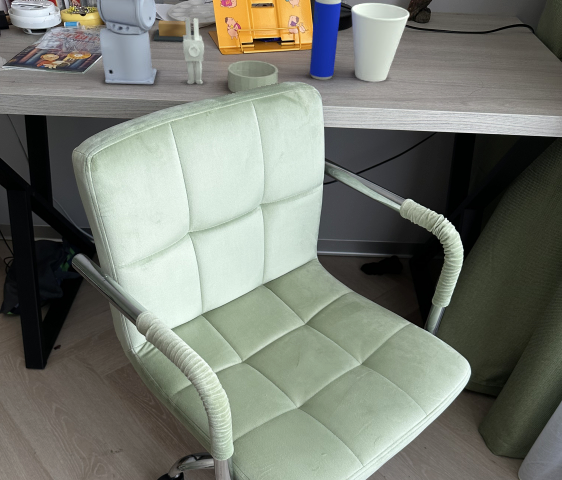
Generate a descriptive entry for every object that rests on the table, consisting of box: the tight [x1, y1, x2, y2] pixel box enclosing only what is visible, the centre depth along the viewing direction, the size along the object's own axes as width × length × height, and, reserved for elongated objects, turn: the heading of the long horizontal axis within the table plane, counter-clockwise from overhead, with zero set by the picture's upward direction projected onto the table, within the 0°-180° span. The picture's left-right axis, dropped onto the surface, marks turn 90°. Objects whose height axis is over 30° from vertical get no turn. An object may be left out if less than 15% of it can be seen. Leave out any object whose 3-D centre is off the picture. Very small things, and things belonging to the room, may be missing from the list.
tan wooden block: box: [157, 20, 186, 37], centre depth 137 cm, size 7×3×3 cm, turn 93°
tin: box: [227, 60, 279, 93], centre depth 116 cm, size 10×10×4 cm
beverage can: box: [309, 0, 342, 81], centre depth 118 cm, size 5×5×15 cm
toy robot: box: [182, 17, 205, 85], centre depth 113 cm, size 4×8×12 cm, turn 9°
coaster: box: [153, 28, 194, 43], centre depth 138 cm, size 9×8×1 cm
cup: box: [350, 2, 410, 83], centre depth 121 cm, size 12×12×12 cm
